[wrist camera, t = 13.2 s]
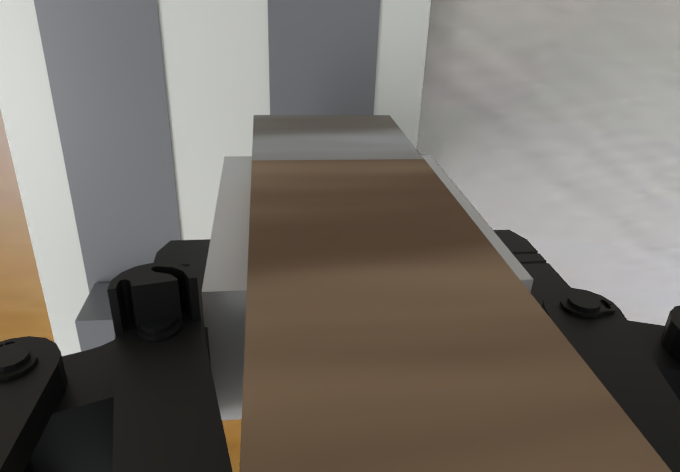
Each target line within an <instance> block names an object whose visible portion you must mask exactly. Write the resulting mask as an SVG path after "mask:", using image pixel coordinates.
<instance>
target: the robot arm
mask: <svg viewBox="0 0 680 472" xmlns="http://www.w3.org/2000/svg"><path fill="white" fill-rule="evenodd" d="M422 157H423V158H424V159H425V160H426V162H427V163H428V164H429V166H430V167H431V168H432V169H433V171H434V172H435V173H436V174H437V176H438V177H439V178H440V179H441V181H442V182H443V183H444V184H445V186H446V187H447V188H448V190H449V191H450V192H451V193H452V195H453V196H454V197H455V198H456V200H457V201H458V202H459V203H460V205H461V206H462V207H463V208H464V210H465V211H466V212H467V213H468V215H469V216H470V217H471V219H472V220H473V221H474V222H475V224H476V225H477V226H478V227H479V229H480V230H481V231H482V232H483V234H484V235H485V236H486V237H487V239H488V240H489V241H490V243H491V244H492V245H493V246H494V248H495V249H496V250H497V251H498V253H499V254H500V255H501V256H502V258H503V259H504V260H505V261H506V263H507V264H508V265H509V267H510V268H511V269H512V270H513V272H514V273H515V274H516V275H517V277H518V278H519V279H520V280H521V282H522V283H523V284H524V285H525V287H526V288H527V289H528V291H529V292H530V293H531V294H532V296H533V297H534V298H535V299H536V301H537V302H538V303H539V304H540V306H541V307H542V308H543V309H544V311H545V312H546V313H547V315H548V316H549V317H550V318H551V320H552V321H553V322H554V323H555V325H556V326H557V327H558V328H559V330H560V331H561V332H562V333H563V335H564V336H565V337H566V339H567V340H568V341H569V342H570V344H571V345H572V346H573V347H574V349H575V350H576V351H577V352H578V354H579V355H580V356H581V357H582V359H583V360H584V361H585V363H586V364H587V365H588V366H589V368H590V369H591V370H592V371H593V373H594V374H595V375H596V376H597V378H598V379H599V380H600V381H601V383H602V384H603V385H604V387H605V388H606V389H607V390H608V392H609V393H610V394H611V395H612V397H613V398H614V399H615V400H616V402H617V403H618V404H619V405H620V407H621V408H622V409H623V411H624V412H625V413H626V414H627V416H628V417H629V418H630V419H631V421H632V422H633V423H634V424H635V426H636V427H637V428H638V429H639V431H640V432H641V433H642V435H643V436H644V437H645V438H646V440H647V441H648V442H649V443H650V445H651V446H652V447H653V448H654V450H655V451H656V452H657V453H658V455H659V456H660V457H661V459H662V460H663V461H664V462H665V464H666V465H667V466H668V467H669V469H670V470H671V471H672V472H680V306H676V307H674V308H673V309H672V310H671V311H670V313H669V316H668V319H667V322H666V325H665V326H661V325H654V324H648V323H641V322H634V321H628V320H627V319H626V318H625V316H624V315H623V313H622V312H621V310H620V309H619V308H618V307H617V306H616V305H615V304H614V303H613V302H611V301H610V300H608V299H606V298H604V297H603V296H601V295H598V294H595V293H593V292H590V291H587V290H581V289H575V288H571V287H570V286H569V285H568V284H567V283H566V282H565V281H564V280H563V279H562V278H561V276H560V275H559V274H558V273H557V272H556V271H555V270H554V269H553V268H552V267H551V266H550V264H549V263H546V260H545V259H544V258H543V257H542V256H541V255H540V254H538V253H537V252H538V251H537V250H536V249H535V248H534V247H533V246H532V245H531V244H530V243H529V242H528V240H526V239H525V238H523V237H521V236H519V235H517V234H516V233H514V232H512V231H510V230H492V228H491V227H490V226H489V225H488V224H487V222H486V221H485V220H484V219H483V218H482V216H481V215H480V214H479V213H478V211H477V210H476V209H475V208H474V207H473V205H472V204H471V203H470V202H469V201H468V199H467V198H466V197H465V196H464V195H463V193H462V192H461V191H460V190H459V188H458V187H457V186H456V185H455V184H454V182H453V181H452V180H451V179H450V178H449V176H448V175H447V174H446V173H445V172H444V170H443V169H442V168H441V167H440V165H439V164H438V163H437V162H436V161H435V159H434V158H433V157H432V156H431V155H422ZM251 168H252V156H224V162H223V168H222V174H221V180H220V186H219V192H218V198H217V203H216V209H215V215H214V221H213V227H212V233H211V239H204V240H170V241H169V242H168V243H167V244H166V245H165V246H163V247H162V248H161V249H160V250H159V251H158V252H157V253H156V256H155V259H154V262H153V263H149V264H144V265H140V266H135V267H133V268H130V269H128V270H126V271H123V272H121V273H120V274H119V275H117V276H116V277H115V278H114V279H112V280H111V282H110V284H109V286H108V289H107V292H108V297H109V303H110V309H111V314H112V320H113V326H114V331H115V339H114V340H113V341H110V342H108V343H106V344H104V345H102V346H99V347H96V348H93V349H89V350H86V351H82V352H78V353H74V354H69V355H65V356H62V355H61V351H60V350H59V348H58V346H57V344H56V343H54V342H52V341H50V340H48V339H46V338H41V337H30V336H28V337H20V338H12V339H8V340H4V341H1V342H0V472H232V467H231V462H230V458H229V453H228V448H227V443H226V438H225V434H224V429H223V424H222V420H235V419H242V399H243V373H244V347H245V322H246V296H247V271H248V245H249V219H250V194H251Z"/></svg>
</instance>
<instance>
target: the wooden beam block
mask: <svg viewBox="0 0 680 472" xmlns="http://www.w3.org/2000/svg"><path fill="white" fill-rule="evenodd" d="M240 472H672V471H671V470H670V469H669V467H668V466H667V465H666V464H665V462H664V461H663V460H662V459H661V457H660V456H659V455H658V453H657V452H656V451H655V450H654V448H653V447H652V446H651V445H650V443H649V442H648V441H647V440H646V438H645V437H644V436H643V435H642V433H641V432H640V431H639V429H638V428H637V427H636V426H635V424H634V423H633V422H632V421H631V419H630V418H629V417H628V416H627V414H626V413H625V412H624V411H623V409H622V408H621V407H620V405H619V404H618V403H617V402H616V400H615V399H614V398H613V397H612V395H611V394H610V393H609V392H608V390H607V389H606V388H605V387H604V385H603V384H602V383H601V381H600V380H599V379H598V378H597V376H596V375H595V374H594V373H593V371H592V370H591V369H590V368H589V366H588V365H587V364H586V363H585V361H584V360H583V359H582V357H581V356H580V355H579V354H578V352H577V351H576V350H575V349H574V347H573V346H572V345H571V344H570V342H569V341H568V340H567V339H566V337H565V336H564V335H563V333H562V332H561V331H560V330H559V328H558V327H557V326H556V325H555V323H554V322H553V321H552V320H551V318H550V317H549V316H548V315H547V313H546V312H545V311H544V309H543V308H542V307H541V306H540V304H539V303H538V302H537V301H536V299H535V298H534V297H533V296H532V294H531V293H530V292H529V291H528V289H527V288H526V287H525V285H524V284H523V283H522V282H521V280H520V279H519V278H518V277H517V275H516V274H515V273H514V272H513V270H512V269H511V268H510V267H509V265H508V264H507V263H506V261H505V260H504V259H503V258H502V256H501V255H500V254H499V253H498V251H497V250H496V249H495V248H494V246H493V245H492V244H491V243H490V241H489V240H488V239H487V237H486V236H485V235H484V234H483V232H482V231H481V230H480V229H479V227H478V226H477V225H476V224H475V222H474V221H473V220H472V219H471V217H470V216H469V215H468V213H467V212H466V211H465V210H464V208H463V207H462V206H461V205H460V203H459V202H458V201H457V200H456V198H455V197H454V196H453V195H452V193H451V192H450V191H449V190H448V188H447V187H446V186H445V184H444V183H443V182H442V181H441V179H440V178H439V177H438V176H437V174H436V173H435V172H434V171H433V169H432V168H431V167H430V166H429V164H428V163H427V162H426V160H425V159H424V158H423V157H422V155H421V154H420V153H419V152H418V150H417V149H416V148H415V147H414V145H413V144H412V143H411V142H410V140H409V139H408V138H407V136H406V135H405V134H404V133H403V131H402V130H401V129H400V128H399V126H398V125H397V124H396V123H395V121H394V120H393V119H392V118H391V116H390V115H254V117H253V142H252V168H251V194H250V219H249V245H248V271H247V296H246V322H245V347H244V373H243V399H242V424H241V450H240Z"/></svg>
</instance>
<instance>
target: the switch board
mask: <svg viewBox="0 0 680 472" xmlns="http://www.w3.org/2000/svg"><path fill="white" fill-rule="evenodd" d="M430 6H431V0H0V109H1V113H2V117H3V122H4V126H5V130H6V135H7V139H8V143H9V148H10V152H11V156H12V160H13V165H14V169H15V173H16V178H17V182H18V186H19V191H20V195H21V199H22V203H23V208H24V212H25V216H26V221H27V225H28V229H29V234H30V238H31V242H32V247H33V251H34V255H35V259H36V264H37V268H38V272H39V277H40V281H41V285H42V290H43V294H44V298H45V302H46V307H47V311H48V315H49V320H50V324H51V328H52V333H53V337H54V341H55V343H56V344H57V346H58V348H59V350H60V351H61V355H62V356H65V355H69V354H74V353H78V352H81V348H80V344H79V339H78V334H77V329H76V324H75V320H76V318H77V316H78V314H79V312H80V310H81V308H82V307H83V305H84V303H85V301H86V299H87V297H88V295H89V293H90V291H91V289H92V288H93V286H94V284H95V283H110V282H111V280H112V279H114V278H115V277H116V276H117V275H119V274H120V273H121V272H123V271H126V270H128V269H130V268H133V267H135V266H140V265H144V264H149V263H153V262H154V259H155V256H156V253H157V252H158V251H159V250H160V249H161V248H162V247H163V246H165V245H166V244H167V243H168V242H169V241H170V240H204V239H211V233H212V227H213V221H214V215H215V209H216V203H217V198H218V192H219V186H220V180H221V174H222V168H223V162H224V156H252V142H253V117H254V115H390V116H391V118H392V119H393V120H394V121H395V123H396V124H397V125H398V126H399V128H400V129H401V130H402V131H403V133H404V134H405V135H406V136H407V138H408V139H409V140H410V142H411V143H412V144H413V145H414V147H415V148H416V149H417V142H418V132H419V121H420V111H421V100H422V90H423V79H424V69H425V58H426V48H427V38H428V27H429V17H430Z"/></svg>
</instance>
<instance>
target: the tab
mask: <svg viewBox="0 0 680 472" xmlns="http://www.w3.org/2000/svg"><path fill="white" fill-rule="evenodd" d="M109 284H110V283H95V284H94V286H93V288H92V289H91V291H90V293H89V295H88V297H87V299H86V301H85V303H84V305H83V307H82V308H81V310H80V312H79V314H78V316H77V318H76V320H75V324H76V329H77V334H78V339H79V344H80V348H81V352H82V351H86V350H89V349H93V348H96V347H99V346H102V345H104V344H106V343H108V342H110V341H113V340H114V339H115V331H114V326H113V320H112V314H111V309H110V303H109V297H108V292H107V289H108V286H109Z"/></svg>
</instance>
